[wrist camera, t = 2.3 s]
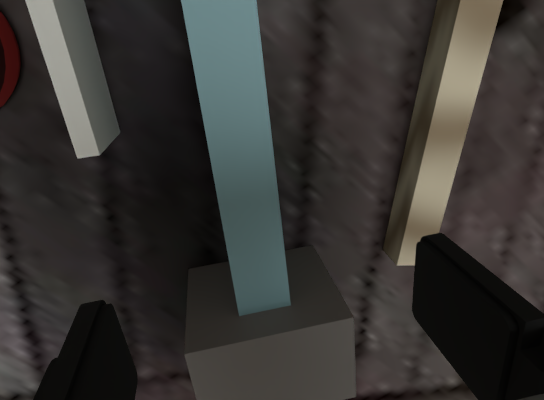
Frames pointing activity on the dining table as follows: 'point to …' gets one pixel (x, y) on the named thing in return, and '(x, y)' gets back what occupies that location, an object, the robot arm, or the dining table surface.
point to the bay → (76, 73)
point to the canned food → (8, 60)
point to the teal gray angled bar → (255, 241)
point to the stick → (439, 121)
